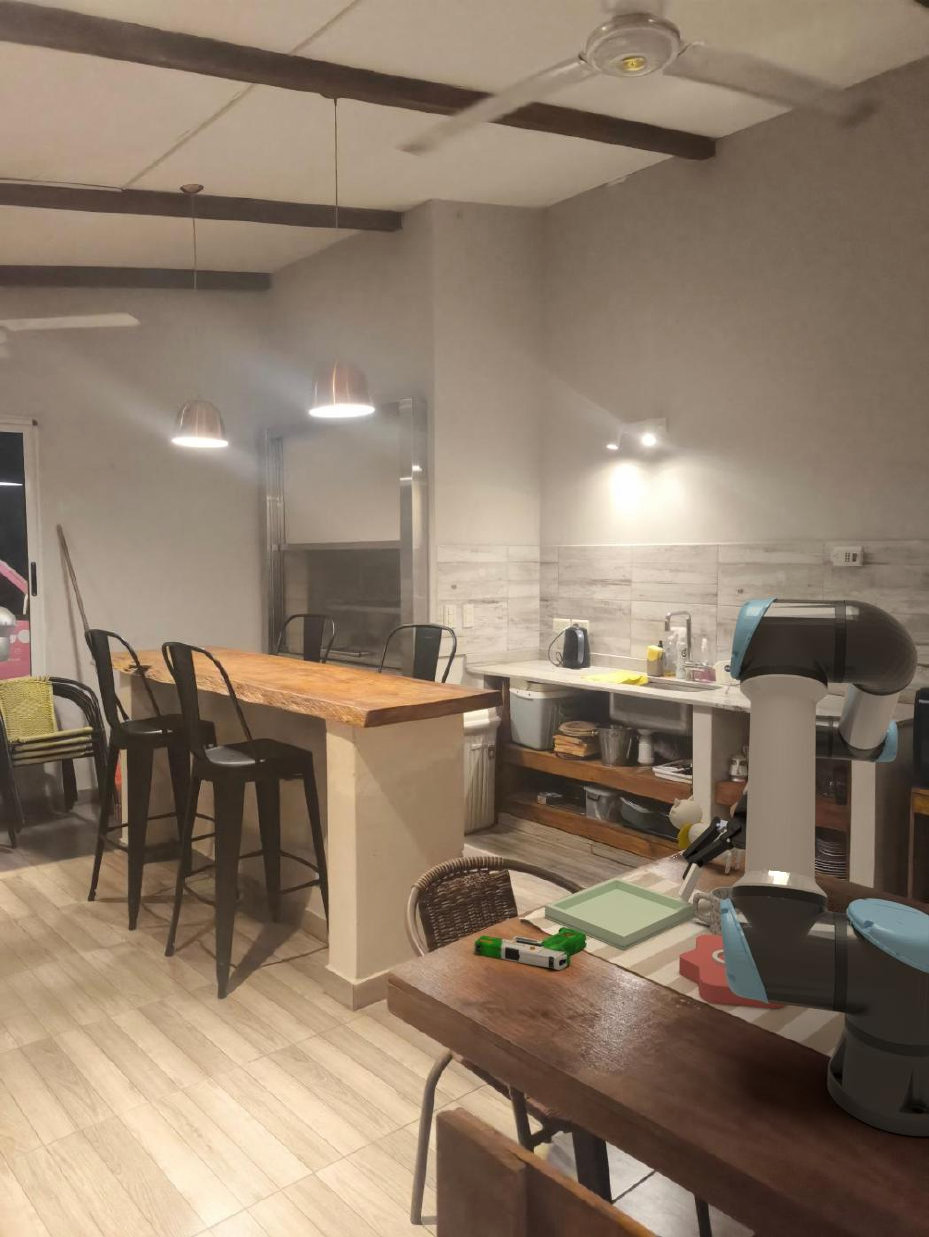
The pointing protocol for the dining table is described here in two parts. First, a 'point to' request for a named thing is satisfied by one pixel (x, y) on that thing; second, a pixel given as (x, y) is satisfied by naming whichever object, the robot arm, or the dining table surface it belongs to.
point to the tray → (619, 912)
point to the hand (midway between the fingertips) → (711, 909)
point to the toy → (697, 828)
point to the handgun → (535, 948)
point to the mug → (712, 907)
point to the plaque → (713, 973)
